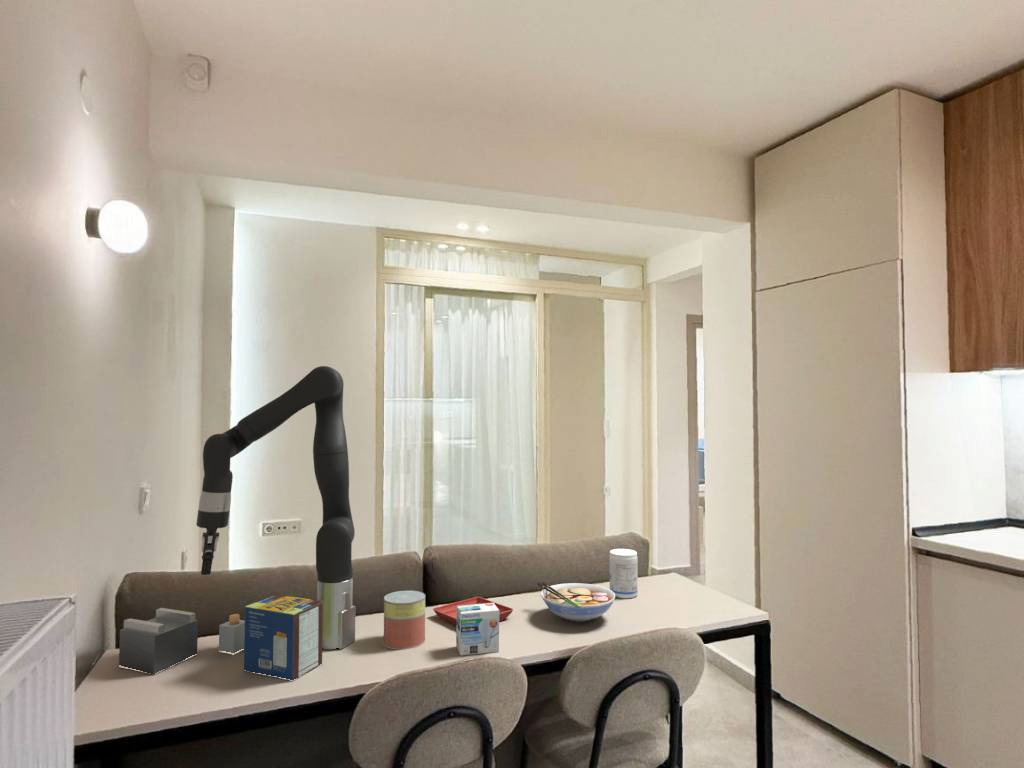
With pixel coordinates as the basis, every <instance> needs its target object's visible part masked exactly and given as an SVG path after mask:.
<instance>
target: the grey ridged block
mask: <svg viewBox="0 0 1024 768" xmlns="http://www.w3.org/2000/svg"><path fill="white" fill-rule="evenodd" d="M198 638H199V619H196V612H190V611H184V610H179V609H178V610H177V609H172V608H166V607H159V608H157V609H155V617H154V618H151V619H148V620H141V619H135V618H126V619H124V620H123V628H122V629H119V647H118V648H119V649H118V650H119V653H118V666H119V665H121V666H124V667H128V668H132V669H136V670H140V671H143V672H147V673H151V674H155V673H157V672H159V671H161V670H163V669H166V668H168V667H170V666H172V665H174V664H176V663H178V662H181V661H183V660H185V659H186V658H188V657H190V656H192V655H195V654H197V655H198V642H199V641H198ZM168 669H169V668H168ZM166 670H167V669H166ZM159 673H160V672H159ZM151 674H150V675H151ZM157 674H158V673H157ZM155 675H156V674H155Z"/></svg>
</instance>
